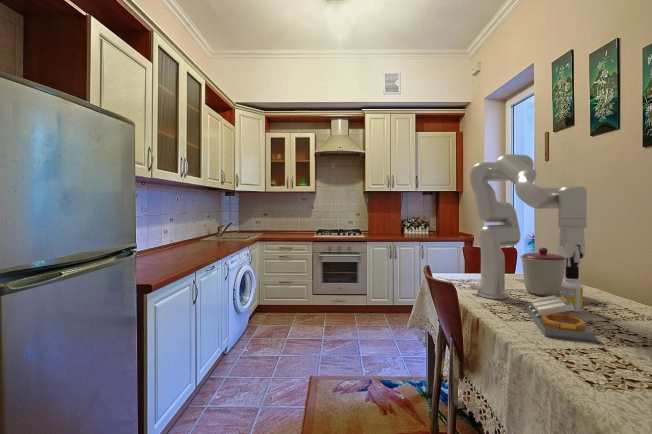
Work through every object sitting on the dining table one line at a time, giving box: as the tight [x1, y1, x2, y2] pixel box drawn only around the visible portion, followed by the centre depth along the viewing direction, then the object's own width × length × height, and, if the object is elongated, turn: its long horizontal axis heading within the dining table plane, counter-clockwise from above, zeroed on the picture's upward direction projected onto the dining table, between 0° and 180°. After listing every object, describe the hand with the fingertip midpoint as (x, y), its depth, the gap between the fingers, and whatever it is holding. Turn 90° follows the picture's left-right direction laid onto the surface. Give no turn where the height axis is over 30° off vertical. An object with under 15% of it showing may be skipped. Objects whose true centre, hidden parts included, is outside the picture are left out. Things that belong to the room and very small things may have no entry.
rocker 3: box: [537, 301, 574, 315], centre depth 112 cm, size 10×3×2 cm, turn 69°
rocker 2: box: [533, 297, 568, 311], centre depth 116 cm, size 10×3×2 cm, turn 69°
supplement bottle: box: [560, 275, 584, 313], centre depth 126 cm, size 7×7×13 cm
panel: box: [525, 304, 596, 343], centre depth 110 cm, size 13×26×4 cm, turn 160°
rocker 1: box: [529, 293, 563, 307], centre depth 121 cm, size 10×3×2 cm, turn 69°
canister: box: [519, 247, 566, 297], centre depth 150 cm, size 18×18×21 cm
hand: (571, 278), depth 109 cm, fingers closed
